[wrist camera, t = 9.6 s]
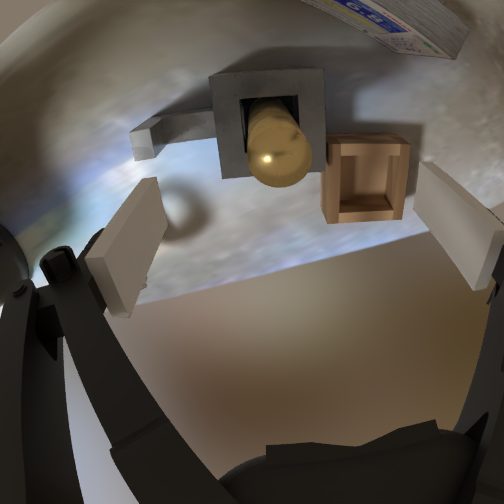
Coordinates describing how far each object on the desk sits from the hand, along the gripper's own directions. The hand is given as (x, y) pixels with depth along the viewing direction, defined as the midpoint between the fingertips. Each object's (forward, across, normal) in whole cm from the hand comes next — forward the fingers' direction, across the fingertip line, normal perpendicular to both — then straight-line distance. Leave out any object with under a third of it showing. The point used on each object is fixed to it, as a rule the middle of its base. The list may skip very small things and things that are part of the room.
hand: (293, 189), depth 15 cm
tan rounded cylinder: (+20, 0, 0) cm, 20 cm away
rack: (+20, -10, +7) cm, 23 cm away
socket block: (+20, 0, 0) cm, 20 cm away
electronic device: (+20, -8, -14) cm, 26 cm away
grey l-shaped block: (+20, +8, 0) cm, 21 cm away
